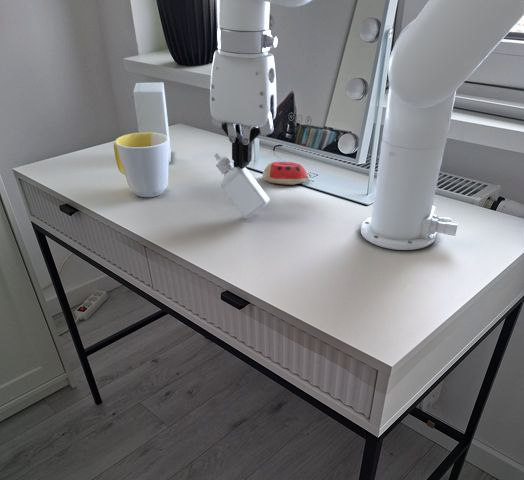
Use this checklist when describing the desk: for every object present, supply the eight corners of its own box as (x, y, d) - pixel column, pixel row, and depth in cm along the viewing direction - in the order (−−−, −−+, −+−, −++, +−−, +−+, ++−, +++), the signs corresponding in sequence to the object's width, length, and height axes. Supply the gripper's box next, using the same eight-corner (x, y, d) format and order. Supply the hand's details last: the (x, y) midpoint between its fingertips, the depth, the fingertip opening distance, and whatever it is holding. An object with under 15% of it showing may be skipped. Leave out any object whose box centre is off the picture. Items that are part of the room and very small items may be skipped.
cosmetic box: (145, 153, 122) (134, 82, 113) (173, 152, 123) (164, 81, 113) (143, 165, 116) (131, 90, 106) (172, 164, 116) (162, 89, 107)
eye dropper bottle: (256, 213, 88) (212, 155, 84) (244, 221, 93) (202, 166, 89) (273, 198, 89) (230, 141, 86) (260, 206, 94) (219, 152, 91)
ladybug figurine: (265, 173, 111) (265, 157, 108) (310, 176, 109) (311, 160, 107) (259, 184, 106) (259, 167, 103) (306, 188, 104) (306, 170, 102)
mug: (184, 193, 102) (178, 139, 96) (139, 206, 97) (130, 150, 91) (151, 175, 111) (143, 124, 104) (108, 186, 106) (97, 134, 99)
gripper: (298, 44, 76) (289, 166, 88) (209, 34, 80) (212, 152, 92) (281, 51, 71) (274, 180, 82) (186, 40, 75) (192, 165, 86)
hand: (241, 165), depth 87 cm, fingers closed
